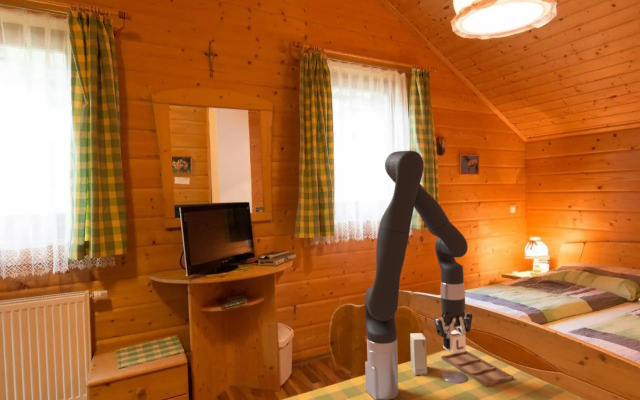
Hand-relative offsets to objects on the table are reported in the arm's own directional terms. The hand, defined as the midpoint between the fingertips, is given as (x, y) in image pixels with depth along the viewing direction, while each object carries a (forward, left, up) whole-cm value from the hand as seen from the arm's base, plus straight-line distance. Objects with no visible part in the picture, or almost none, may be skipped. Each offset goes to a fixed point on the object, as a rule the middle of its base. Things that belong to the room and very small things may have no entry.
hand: (454, 346), depth 129 cm
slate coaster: (0, 0, -11) cm, 11 cm away
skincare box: (-8, +9, -11) cm, 16 cm away
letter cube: (0, 0, -1) cm, 1 cm away
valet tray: (+10, +2, -11) cm, 15 cm away
